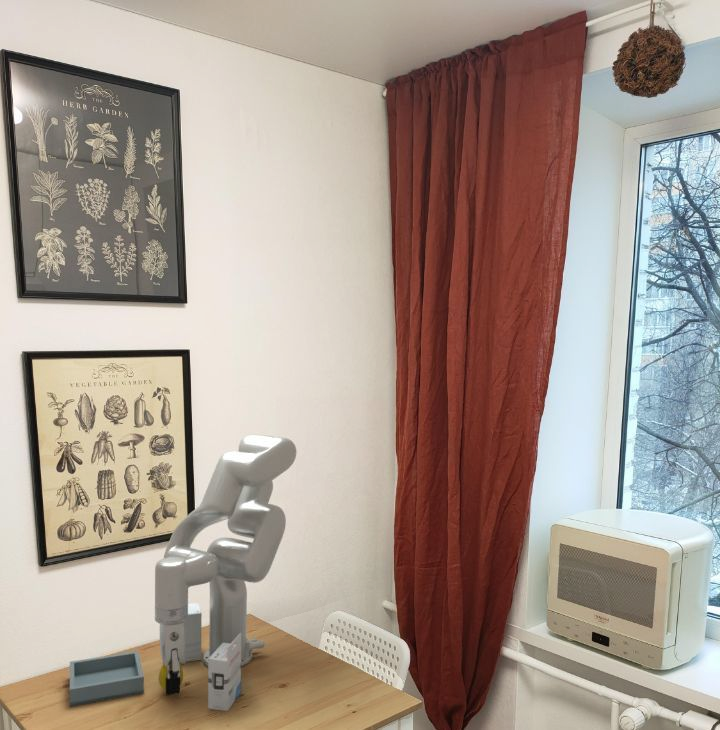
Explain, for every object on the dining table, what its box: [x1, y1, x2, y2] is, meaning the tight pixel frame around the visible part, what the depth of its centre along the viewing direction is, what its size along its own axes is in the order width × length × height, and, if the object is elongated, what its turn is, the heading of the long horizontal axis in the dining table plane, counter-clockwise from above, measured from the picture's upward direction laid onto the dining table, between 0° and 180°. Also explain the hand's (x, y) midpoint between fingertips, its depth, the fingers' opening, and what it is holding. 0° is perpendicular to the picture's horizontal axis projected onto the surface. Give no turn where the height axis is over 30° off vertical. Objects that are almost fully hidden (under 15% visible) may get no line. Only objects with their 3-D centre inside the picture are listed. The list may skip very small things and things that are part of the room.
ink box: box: [207, 633, 242, 712], centre depth 156 cm, size 9×5×15 cm, turn 168°
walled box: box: [69, 650, 145, 708], centre depth 162 cm, size 16×14×4 cm
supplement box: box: [179, 602, 203, 664], centre depth 178 cm, size 7×7×13 cm
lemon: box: [158, 661, 184, 692], centre depth 159 cm, size 6×6×8 cm
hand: (171, 686), depth 160 cm, fingers closed on lemon, 5 cm apart
